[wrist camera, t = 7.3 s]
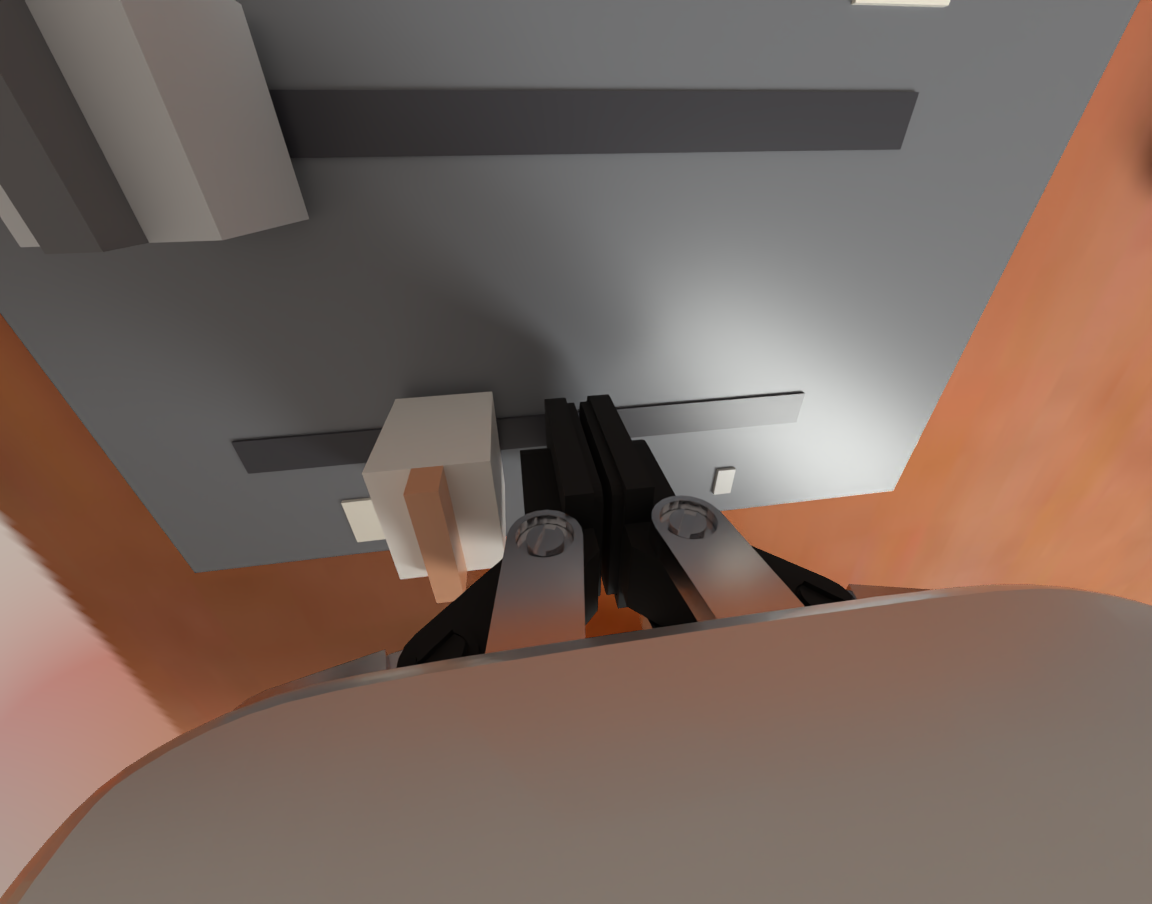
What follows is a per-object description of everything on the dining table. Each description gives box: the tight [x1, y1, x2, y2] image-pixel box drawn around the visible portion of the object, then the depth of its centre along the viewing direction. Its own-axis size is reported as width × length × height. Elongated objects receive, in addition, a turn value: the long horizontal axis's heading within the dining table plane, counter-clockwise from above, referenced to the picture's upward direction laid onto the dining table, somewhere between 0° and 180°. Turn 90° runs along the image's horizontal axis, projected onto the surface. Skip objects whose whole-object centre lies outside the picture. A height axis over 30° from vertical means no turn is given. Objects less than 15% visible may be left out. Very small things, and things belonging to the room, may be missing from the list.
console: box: [0, 0, 1140, 573], centre depth 11 cm, size 24×15×2 cm, turn 91°
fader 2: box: [362, 392, 506, 603], centre depth 10 cm, size 2×3×4 cm
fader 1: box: [0, 0, 309, 254], centre depth 6 cm, size 2×3×4 cm
